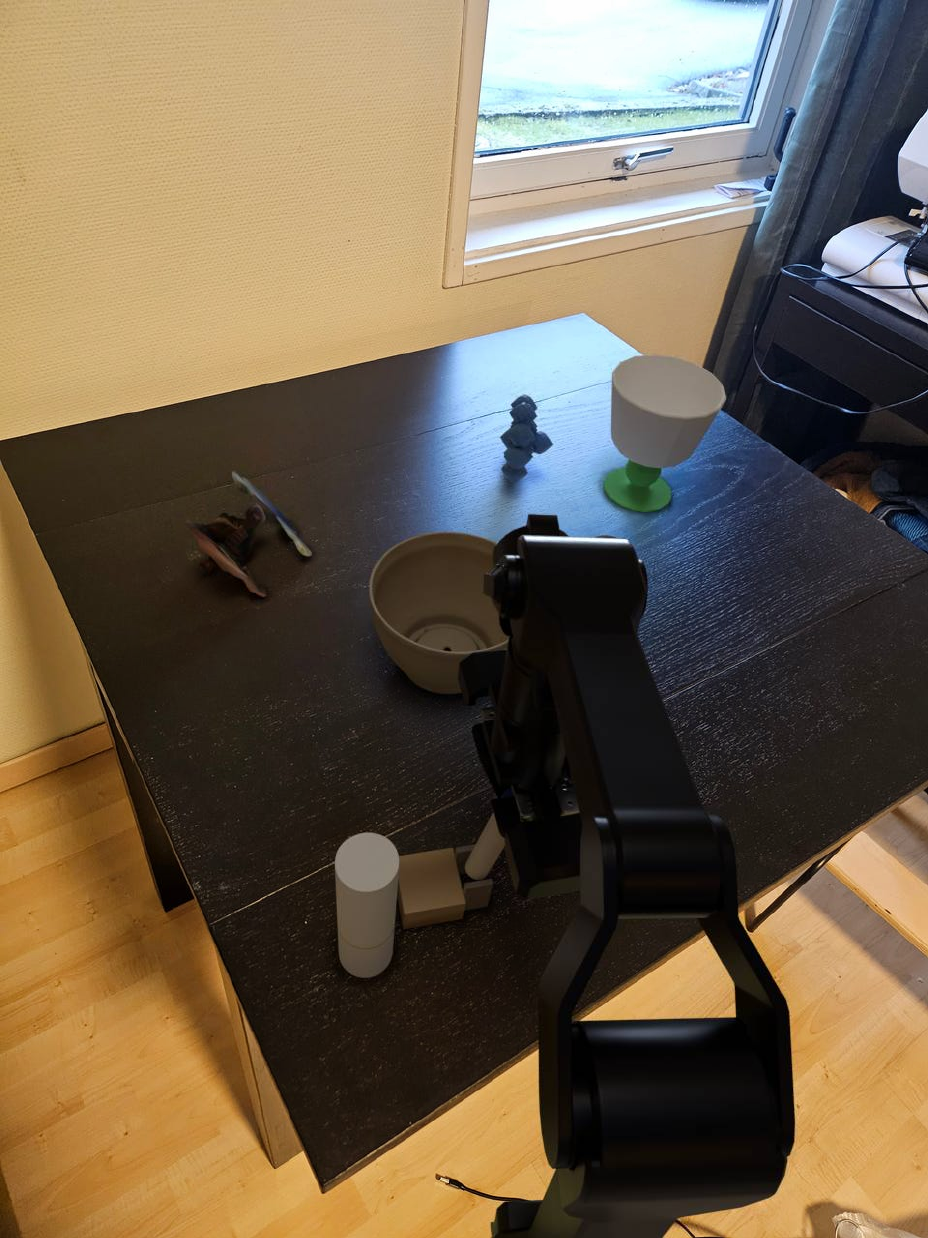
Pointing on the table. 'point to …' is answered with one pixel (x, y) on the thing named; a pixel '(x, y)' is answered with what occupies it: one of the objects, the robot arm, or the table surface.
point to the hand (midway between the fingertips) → (513, 822)
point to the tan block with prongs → (438, 887)
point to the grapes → (522, 439)
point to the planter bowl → (435, 606)
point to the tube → (366, 903)
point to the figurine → (238, 537)
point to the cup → (657, 424)
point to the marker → (486, 848)
